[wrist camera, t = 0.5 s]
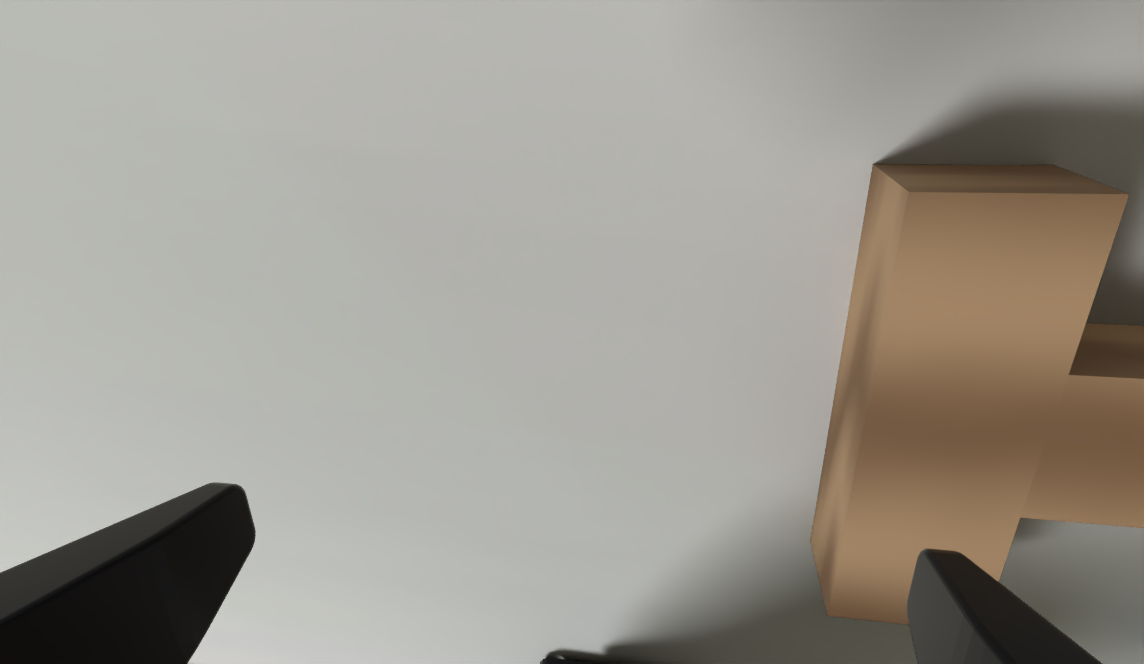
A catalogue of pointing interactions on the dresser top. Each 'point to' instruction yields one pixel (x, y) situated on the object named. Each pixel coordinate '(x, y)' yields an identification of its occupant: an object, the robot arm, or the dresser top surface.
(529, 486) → the dresser top surface
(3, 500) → the dresser top surface
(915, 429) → the t block
